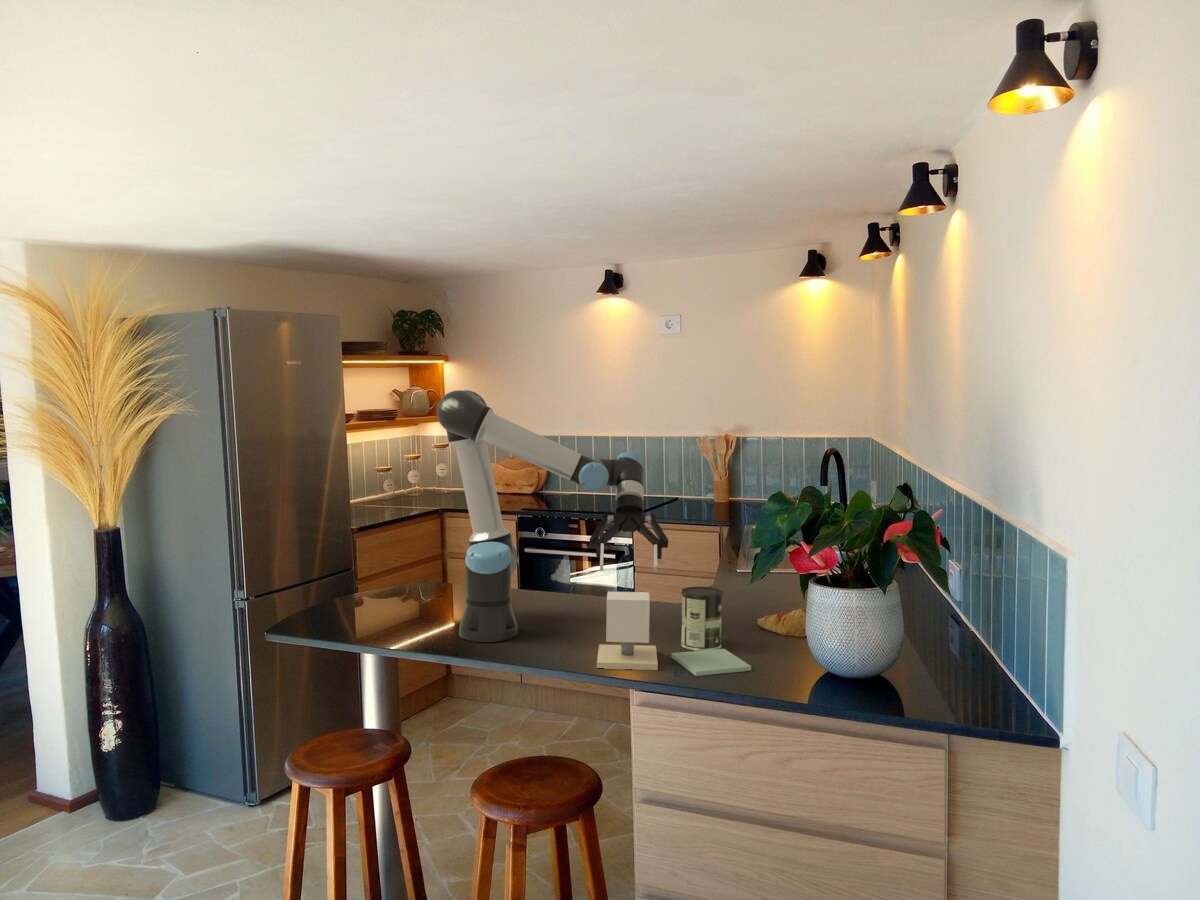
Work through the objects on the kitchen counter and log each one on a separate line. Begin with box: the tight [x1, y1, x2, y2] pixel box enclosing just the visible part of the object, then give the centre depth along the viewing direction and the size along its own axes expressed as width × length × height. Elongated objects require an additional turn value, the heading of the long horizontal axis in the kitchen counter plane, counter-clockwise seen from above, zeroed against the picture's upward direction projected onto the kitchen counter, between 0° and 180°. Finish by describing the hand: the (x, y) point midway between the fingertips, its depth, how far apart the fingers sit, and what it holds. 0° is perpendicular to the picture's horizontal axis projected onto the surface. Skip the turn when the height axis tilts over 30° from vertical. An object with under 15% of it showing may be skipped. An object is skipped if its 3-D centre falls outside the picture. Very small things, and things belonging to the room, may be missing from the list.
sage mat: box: [671, 648, 752, 677], centre depth 196 cm, size 14×14×1 cm
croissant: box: [756, 608, 807, 638], centre depth 223 cm, size 21×10×8 cm, turn 65°
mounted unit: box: [596, 591, 659, 671], centre depth 197 cm, size 14×14×16 cm
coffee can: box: [680, 586, 723, 651], centre depth 210 cm, size 10×10×14 cm
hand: (628, 568), depth 208 cm, fingers open, 13 cm apart
